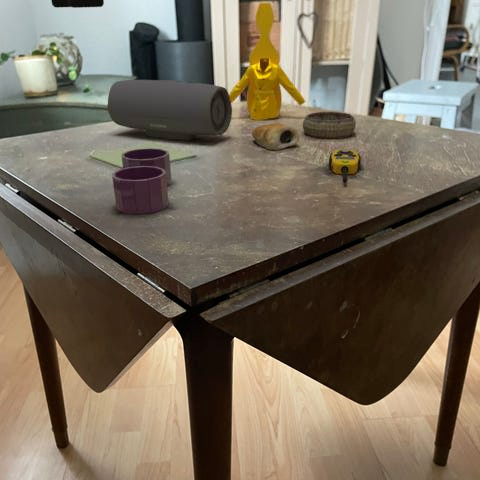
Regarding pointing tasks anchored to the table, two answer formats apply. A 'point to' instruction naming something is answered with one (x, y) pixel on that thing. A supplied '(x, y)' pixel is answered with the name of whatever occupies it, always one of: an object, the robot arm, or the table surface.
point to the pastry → (275, 136)
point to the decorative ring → (329, 124)
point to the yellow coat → (265, 73)
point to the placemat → (115, 155)
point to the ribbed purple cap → (148, 159)
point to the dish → (140, 189)
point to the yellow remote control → (344, 162)
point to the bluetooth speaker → (170, 108)
